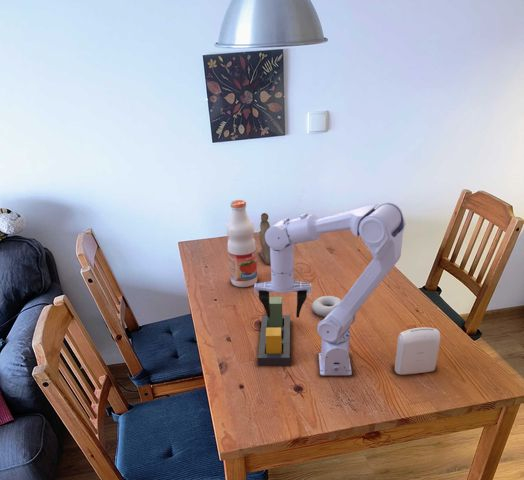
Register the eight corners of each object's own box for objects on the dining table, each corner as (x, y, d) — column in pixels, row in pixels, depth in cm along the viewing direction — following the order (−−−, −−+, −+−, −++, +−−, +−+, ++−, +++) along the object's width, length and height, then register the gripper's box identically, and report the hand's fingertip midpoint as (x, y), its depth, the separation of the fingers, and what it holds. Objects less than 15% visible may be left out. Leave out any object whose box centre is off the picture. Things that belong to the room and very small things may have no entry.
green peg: (282, 333, 140) (281, 303, 134) (268, 333, 140) (267, 303, 134) (282, 326, 143) (282, 296, 137) (269, 326, 144) (268, 296, 138)
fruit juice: (241, 273, 174) (235, 195, 157) (262, 279, 169) (258, 199, 153) (225, 284, 167) (217, 204, 151) (247, 290, 163) (241, 208, 147)
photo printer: (397, 376, 121) (403, 336, 114) (391, 366, 125) (397, 326, 118) (436, 372, 122) (445, 332, 115) (430, 362, 125) (438, 322, 118)
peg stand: (289, 365, 127) (289, 357, 126) (258, 365, 128) (257, 357, 126) (290, 322, 145) (290, 315, 143) (262, 322, 145) (262, 315, 144)
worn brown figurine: (260, 259, 189) (254, 212, 181) (273, 257, 189) (269, 210, 182) (265, 265, 178) (260, 216, 171) (280, 263, 178) (275, 213, 171)
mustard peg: (281, 360, 129) (280, 335, 125) (266, 360, 129) (265, 335, 125) (281, 351, 132) (281, 327, 128) (267, 351, 133) (266, 327, 128)
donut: (310, 318, 146) (343, 320, 144) (310, 308, 144) (344, 310, 142) (314, 302, 154) (345, 303, 152) (314, 293, 152) (346, 294, 150)
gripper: (311, 261, 123) (310, 307, 131) (254, 262, 124) (257, 308, 132) (311, 274, 117) (310, 321, 125) (252, 274, 118) (255, 321, 126)
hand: (283, 315), depth 128 cm, fingers open, 7 cm apart
